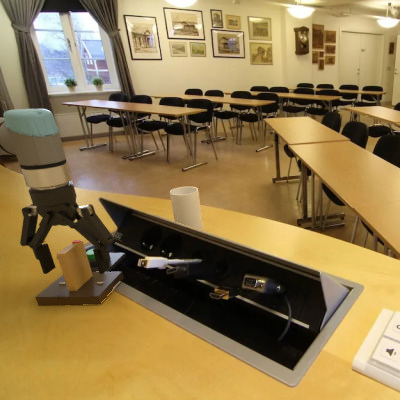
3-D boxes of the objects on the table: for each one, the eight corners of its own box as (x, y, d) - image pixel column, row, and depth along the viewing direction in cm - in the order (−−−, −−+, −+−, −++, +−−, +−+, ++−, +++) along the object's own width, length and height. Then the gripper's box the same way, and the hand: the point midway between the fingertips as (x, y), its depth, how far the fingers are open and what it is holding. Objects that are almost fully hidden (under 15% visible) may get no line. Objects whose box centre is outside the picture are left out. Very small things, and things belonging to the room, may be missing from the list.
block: (65, 274, 85) (62, 264, 84) (87, 256, 93) (85, 247, 92) (108, 274, 85) (105, 264, 84) (126, 256, 93) (124, 247, 92)
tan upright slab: (76, 291, 74) (64, 252, 71) (68, 291, 74) (55, 252, 71) (93, 275, 80) (82, 239, 76) (85, 275, 80) (74, 239, 76)
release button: (84, 260, 86) (82, 254, 86) (92, 253, 90) (91, 247, 89) (97, 260, 87) (96, 254, 86) (105, 253, 90) (104, 247, 89)
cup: (176, 243, 101) (167, 196, 95) (179, 232, 108) (171, 187, 102) (203, 240, 103) (197, 193, 97) (204, 229, 110) (198, 185, 105)
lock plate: (38, 306, 73) (34, 296, 72) (68, 279, 82) (66, 271, 82) (100, 305, 74) (98, 295, 73) (124, 279, 83) (122, 270, 82)
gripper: (118, 179, 72) (137, 261, 80) (7, 178, 71) (37, 261, 79) (97, 190, 65) (120, 279, 73) (-26, 190, 64) (10, 280, 72)
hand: (77, 270), depth 76 cm, fingers open, 12 cm apart
